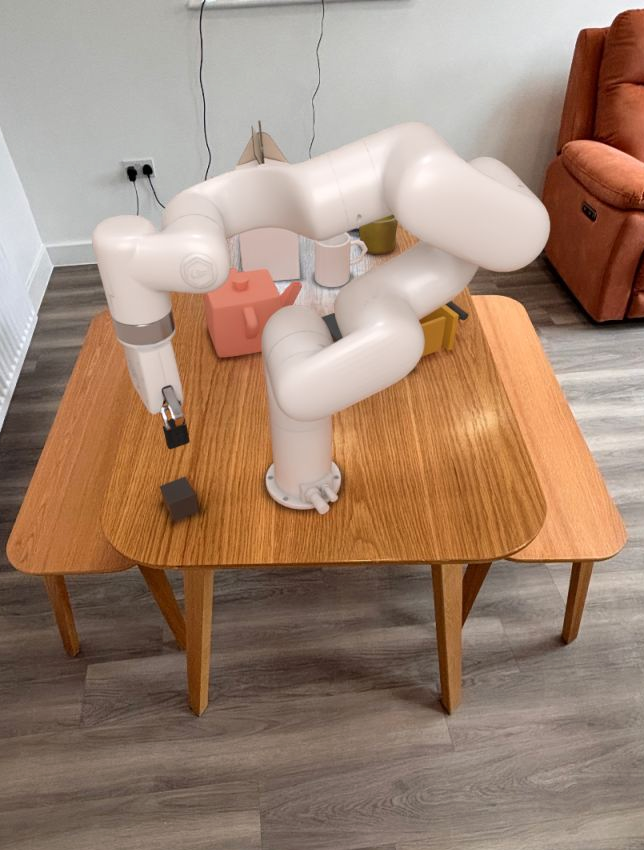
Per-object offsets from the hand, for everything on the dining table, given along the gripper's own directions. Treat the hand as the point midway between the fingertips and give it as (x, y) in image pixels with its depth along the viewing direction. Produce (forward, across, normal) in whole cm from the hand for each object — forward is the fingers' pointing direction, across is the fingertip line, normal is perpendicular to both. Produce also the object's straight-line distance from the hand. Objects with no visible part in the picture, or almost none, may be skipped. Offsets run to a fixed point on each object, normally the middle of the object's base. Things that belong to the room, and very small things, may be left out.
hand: (166, 424), depth 93 cm
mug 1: (+16, -48, +57) cm, 76 cm away
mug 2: (+16, -57, +73) cm, 94 cm away
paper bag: (+16, -64, +47) cm, 81 cm away
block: (+17, +1, -1) cm, 17 cm away
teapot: (+16, -36, +31) cm, 50 cm away
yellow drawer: (+15, -17, +58) cm, 62 cm away
